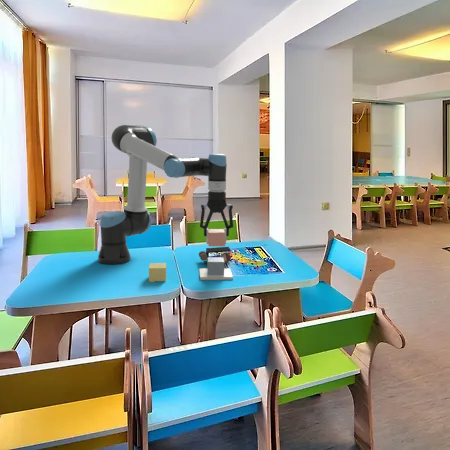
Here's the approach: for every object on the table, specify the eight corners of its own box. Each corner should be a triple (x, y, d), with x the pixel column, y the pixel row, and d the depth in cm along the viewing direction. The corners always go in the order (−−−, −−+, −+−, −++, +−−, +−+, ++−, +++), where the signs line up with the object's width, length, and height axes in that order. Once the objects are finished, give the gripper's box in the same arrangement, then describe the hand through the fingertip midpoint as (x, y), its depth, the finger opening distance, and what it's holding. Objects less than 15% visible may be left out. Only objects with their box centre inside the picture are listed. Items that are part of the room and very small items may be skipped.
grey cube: (208, 275, 176) (208, 261, 174) (207, 270, 182) (207, 257, 181) (224, 275, 176) (224, 261, 175) (222, 270, 183) (223, 257, 182)
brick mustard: (148, 281, 169) (148, 268, 168) (150, 276, 176) (150, 263, 175) (165, 281, 170) (165, 268, 169) (166, 276, 177) (166, 263, 176)
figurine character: (201, 268, 194) (232, 263, 196) (199, 252, 192) (230, 248, 194) (199, 263, 200) (229, 259, 203) (197, 249, 199) (228, 245, 201)
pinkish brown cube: (208, 246, 173) (208, 232, 171) (207, 242, 179) (207, 229, 178) (225, 246, 173) (225, 232, 172) (223, 242, 180) (223, 229, 179)
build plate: (200, 279, 173) (200, 277, 173) (199, 271, 185) (199, 268, 184) (232, 279, 174) (232, 276, 174) (229, 270, 186) (229, 268, 186)
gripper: (193, 191, 167) (193, 245, 172) (241, 192, 169) (239, 245, 174) (193, 189, 175) (193, 241, 179) (239, 190, 176) (237, 241, 181)
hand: (216, 243), depth 176 cm, fingers closed on pinkish brown cube, 7 cm apart
